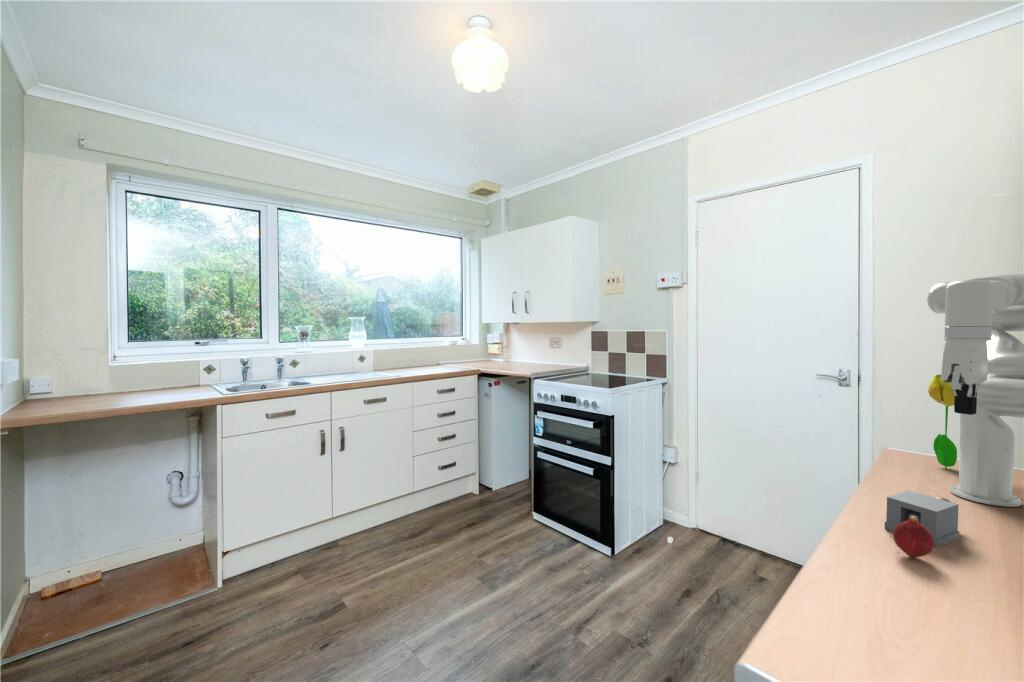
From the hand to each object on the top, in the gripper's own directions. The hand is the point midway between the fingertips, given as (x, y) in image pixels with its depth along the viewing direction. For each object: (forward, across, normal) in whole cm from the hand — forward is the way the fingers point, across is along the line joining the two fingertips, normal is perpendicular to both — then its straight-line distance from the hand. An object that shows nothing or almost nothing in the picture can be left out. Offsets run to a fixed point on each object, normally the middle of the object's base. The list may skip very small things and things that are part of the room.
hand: (965, 413), depth 100 cm
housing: (+24, +18, 0) cm, 31 cm away
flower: (+25, -44, -20) cm, 54 cm away
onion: (+25, +32, +5) cm, 41 cm away
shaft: (+23, +16, 0) cm, 28 cm away
